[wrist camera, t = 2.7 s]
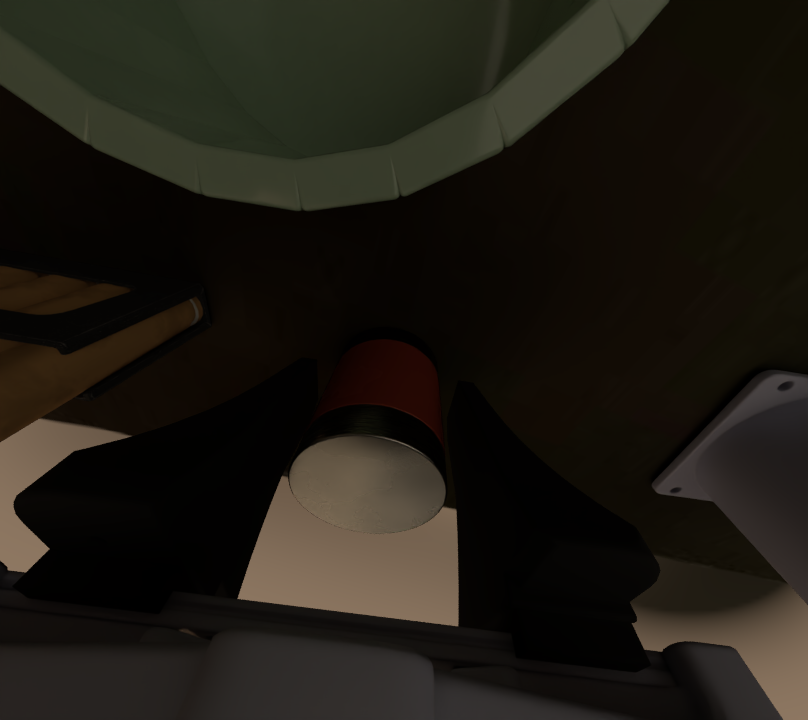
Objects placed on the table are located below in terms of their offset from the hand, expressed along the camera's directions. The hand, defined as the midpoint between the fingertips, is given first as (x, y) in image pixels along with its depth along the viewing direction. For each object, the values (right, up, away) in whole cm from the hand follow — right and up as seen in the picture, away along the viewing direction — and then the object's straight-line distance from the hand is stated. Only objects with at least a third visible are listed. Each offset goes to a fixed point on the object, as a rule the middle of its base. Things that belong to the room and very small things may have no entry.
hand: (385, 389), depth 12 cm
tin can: (0, +1, +1) cm, 1 cm away
